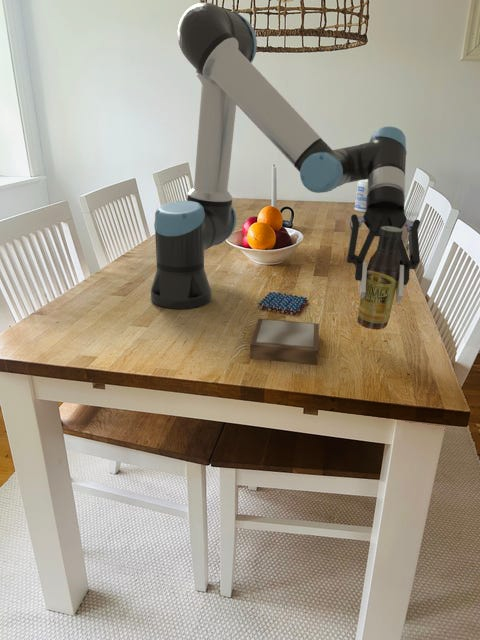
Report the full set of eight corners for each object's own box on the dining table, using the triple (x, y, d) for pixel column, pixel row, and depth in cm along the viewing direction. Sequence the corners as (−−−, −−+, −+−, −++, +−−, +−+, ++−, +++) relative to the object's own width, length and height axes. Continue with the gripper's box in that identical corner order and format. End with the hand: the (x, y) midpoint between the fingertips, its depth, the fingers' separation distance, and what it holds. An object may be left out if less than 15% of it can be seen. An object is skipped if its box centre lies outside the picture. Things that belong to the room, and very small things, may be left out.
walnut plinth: (249, 358, 95) (250, 343, 94) (257, 330, 107) (258, 317, 106) (316, 364, 94) (318, 349, 93) (317, 336, 106) (318, 322, 104)
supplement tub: (352, 211, 239) (356, 180, 233) (355, 208, 247) (359, 178, 241) (373, 213, 236) (377, 182, 230) (375, 210, 244) (379, 179, 238)
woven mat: (298, 318, 116) (299, 310, 115) (256, 311, 119) (256, 303, 118) (309, 303, 125) (310, 296, 124) (270, 297, 128) (270, 290, 127)
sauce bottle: (351, 324, 98) (365, 227, 90) (364, 315, 103) (379, 222, 95) (381, 334, 95) (399, 234, 87) (394, 324, 99) (412, 228, 91)
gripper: (428, 209, 103) (427, 310, 95) (336, 202, 105) (328, 299, 97) (439, 187, 96) (439, 294, 88) (340, 180, 98) (331, 283, 90)
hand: (380, 296), depth 93 cm, fingers closed on sauce bottle, 6 cm apart
